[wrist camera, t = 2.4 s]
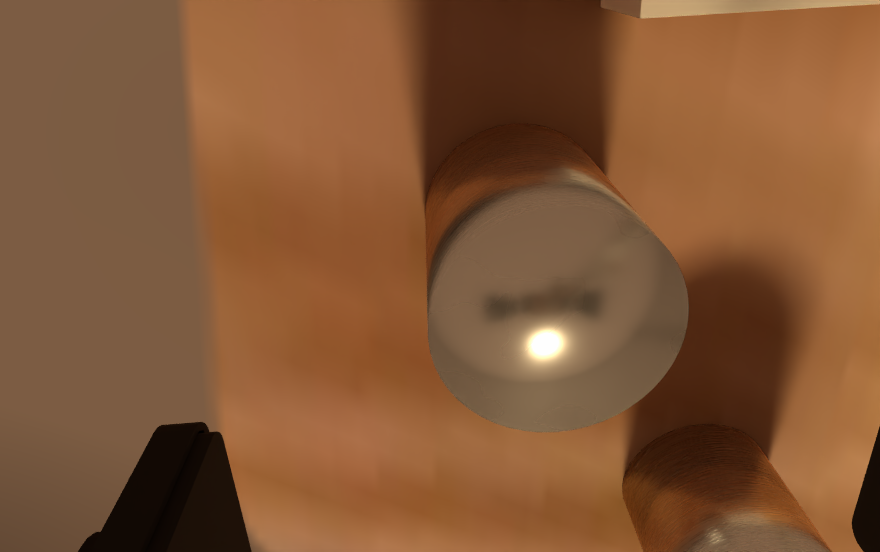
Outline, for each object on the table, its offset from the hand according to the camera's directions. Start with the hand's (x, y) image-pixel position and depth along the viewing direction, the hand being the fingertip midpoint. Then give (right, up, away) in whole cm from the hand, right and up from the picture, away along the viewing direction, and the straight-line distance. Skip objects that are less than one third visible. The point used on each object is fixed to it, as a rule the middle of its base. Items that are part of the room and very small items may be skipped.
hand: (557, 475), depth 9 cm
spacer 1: (0, +4, +8) cm, 9 cm away
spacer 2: (+7, -4, +13) cm, 15 cm away
